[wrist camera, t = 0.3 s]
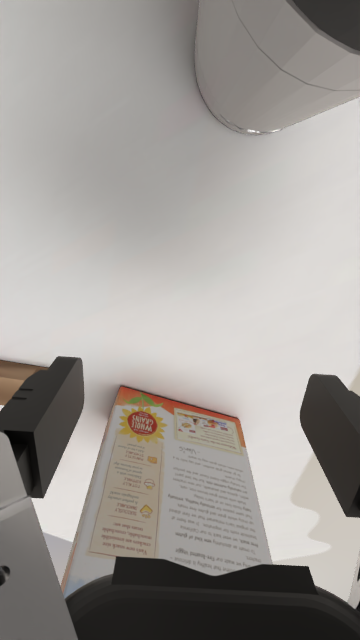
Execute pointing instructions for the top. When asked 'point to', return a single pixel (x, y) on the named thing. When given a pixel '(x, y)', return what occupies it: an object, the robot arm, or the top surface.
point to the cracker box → (168, 493)
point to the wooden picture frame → (14, 378)
